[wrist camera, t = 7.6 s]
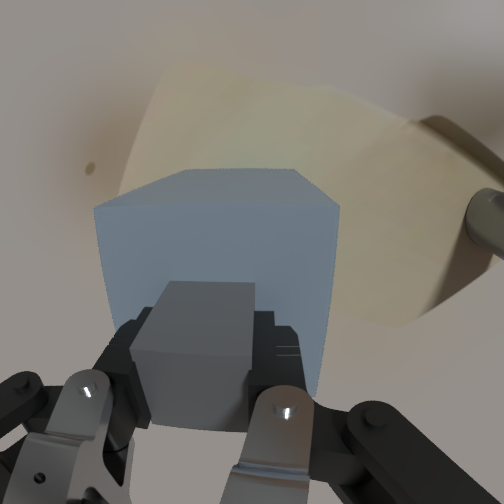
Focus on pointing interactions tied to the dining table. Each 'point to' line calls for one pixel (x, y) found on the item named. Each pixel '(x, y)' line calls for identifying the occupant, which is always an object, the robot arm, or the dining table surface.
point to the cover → (217, 282)
